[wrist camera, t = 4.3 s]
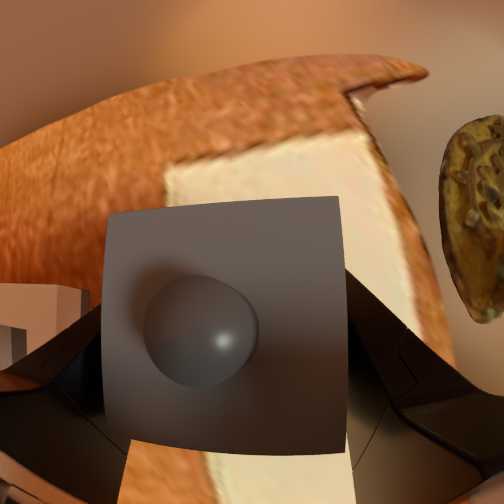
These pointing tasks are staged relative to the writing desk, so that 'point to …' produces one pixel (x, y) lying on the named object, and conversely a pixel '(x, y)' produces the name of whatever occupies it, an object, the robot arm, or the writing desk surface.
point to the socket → (35, 316)
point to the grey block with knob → (227, 327)
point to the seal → (475, 215)
